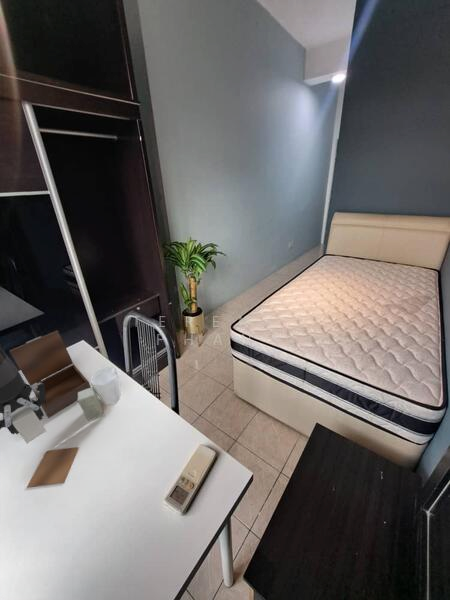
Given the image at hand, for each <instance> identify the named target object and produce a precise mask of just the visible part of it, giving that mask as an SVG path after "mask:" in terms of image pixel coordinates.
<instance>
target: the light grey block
mask: <svg viewBox="0 0 450 600" xmlns="http://www.w3.org/2000/svg"><path fill="white" fill-rule="evenodd" d="M11 421H12V424H13V425H14V427H15V428H16V429H17V431H18V432H19V433H18V434H19V435H20V437H21V438H22V439H23V440H24V442H25V443H26V444H29V443H30V442H32V441H33V440H35V439H36V438H38V437H40V436H41V435H42V434H44V433H45V432H47V430H46V427H45V426H44V424H43V422H42V419H41V420H39V418H38V417H37V415H36V414H35V412H34V410H33V409H31V408H28V407H26V406H23V407H21V408H18V409H17V410H15V411H14V412H12V413H11Z"/></svg>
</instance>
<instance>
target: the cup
mask: <svg viewBox="0 0 450 600" xmlns="http://www.w3.org/2000/svg"><path fill="white" fill-rule="evenodd" d="M90 383H91V387H93V388H94V390H95V392H96V394H97V396H98V398H99V400H100V402H102V403H103V405H105V406H112V405H117V404H118V403H119V401H120V400H121V398H122V395H123V394H122V387H121V380H120V375H119V373H118V371H117V370H116V368H114V367H103V368H101V369H99V370H97V371H96V372H94V374H93V375H92V376H91V377H90Z"/></svg>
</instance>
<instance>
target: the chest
mask: <svg viewBox="0 0 450 600" xmlns="http://www.w3.org/2000/svg"><path fill="white" fill-rule="evenodd" d="M41 381H42V383H43V384H44V386H45V395H46V403H45V404H42V405H41V406H40V407H41V409H42V411H43V412H44V413H45V415H46V417H47V418H48V419H50V418H51V417H53V416H55V415H56V414H58V413H60V412H61V411H63V410H65V409H66V408H68V407H69V406H71V405H72V404H74V403H75V402H78V401H77V398H78V392H80V391H83V390H85V389H88V388H91V387H92V385H91V384H90V382H89V381H88V379H87V378H86V377H85V376H84V375H83V373H82V372H81V371H80V370H79V369H78V367H77V366H76V365H75V364H74V363H73V364H72V365H70V366H68V367H66V368H64V369H62V370H60V371H58V372H56V373H54V374H52V375H51V376H49V377H47V378H45V379H43V380H41ZM32 392H33V393H34V395H35V397H36V400H37V399H38V394H37V392H35V391H34V390H32Z"/></svg>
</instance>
